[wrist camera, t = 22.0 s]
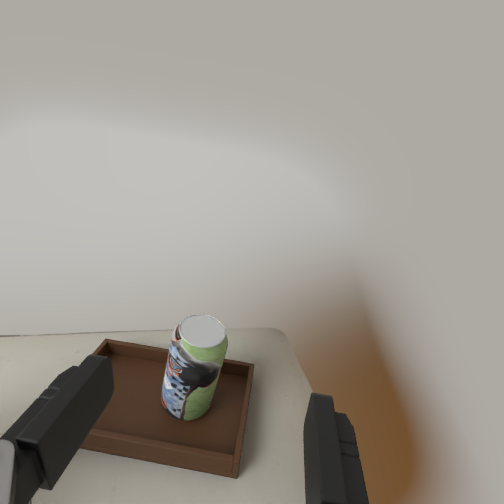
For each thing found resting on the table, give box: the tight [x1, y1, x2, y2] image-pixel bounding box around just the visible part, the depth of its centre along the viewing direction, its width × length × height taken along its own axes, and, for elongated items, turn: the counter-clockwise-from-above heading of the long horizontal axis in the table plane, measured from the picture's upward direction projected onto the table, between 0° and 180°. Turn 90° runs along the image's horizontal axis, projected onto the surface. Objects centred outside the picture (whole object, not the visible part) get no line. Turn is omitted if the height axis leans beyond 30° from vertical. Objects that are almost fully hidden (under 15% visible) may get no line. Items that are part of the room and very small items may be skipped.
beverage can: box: [161, 314, 228, 421], centre depth 34 cm, size 6×7×12 cm
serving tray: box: [79, 339, 254, 479], centre depth 37 cm, size 21×13×3 cm, turn 83°
